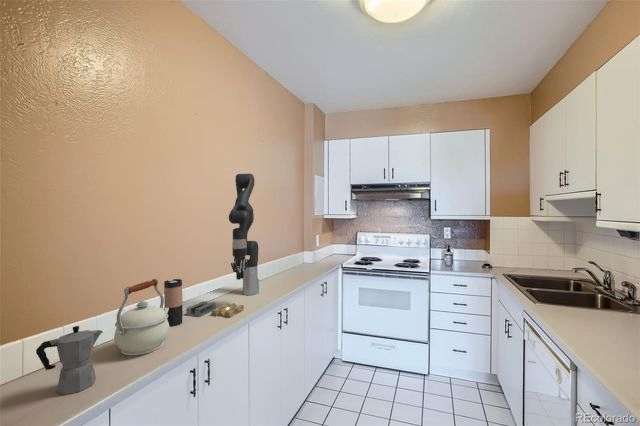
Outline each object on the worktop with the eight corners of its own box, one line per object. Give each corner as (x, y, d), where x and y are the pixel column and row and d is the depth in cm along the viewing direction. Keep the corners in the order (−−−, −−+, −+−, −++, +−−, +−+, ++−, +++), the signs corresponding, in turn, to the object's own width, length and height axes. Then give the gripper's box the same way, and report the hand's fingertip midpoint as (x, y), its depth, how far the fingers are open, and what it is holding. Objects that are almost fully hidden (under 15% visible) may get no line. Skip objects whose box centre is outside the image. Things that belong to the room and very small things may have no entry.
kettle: (141, 363, 104) (140, 291, 103) (97, 359, 107) (95, 289, 107) (187, 334, 128) (186, 275, 128) (150, 331, 132) (149, 274, 132)
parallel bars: (226, 308, 162) (226, 303, 162) (243, 310, 158) (243, 305, 158) (211, 315, 150) (211, 310, 150) (229, 317, 147) (229, 313, 147)
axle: (231, 309, 160) (231, 302, 160) (236, 310, 158) (237, 303, 158) (218, 315, 150) (219, 308, 150) (224, 317, 149) (225, 309, 149)
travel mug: (178, 326, 137) (177, 282, 136) (161, 326, 137) (160, 282, 137) (185, 320, 144) (185, 278, 144) (170, 320, 144) (169, 279, 144)
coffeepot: (100, 371, 99) (99, 316, 99) (107, 382, 92) (106, 323, 92) (35, 392, 87) (34, 331, 87) (38, 406, 81) (37, 340, 81)
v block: (203, 307, 163) (202, 301, 163) (216, 309, 160) (216, 302, 160) (186, 315, 152) (186, 308, 152) (200, 316, 149) (200, 309, 149)
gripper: (241, 245, 172) (241, 275, 172) (225, 248, 159) (226, 281, 159) (252, 246, 170) (252, 276, 170) (237, 249, 157) (238, 282, 157)
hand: (240, 278), depth 165 cm, fingers closed
